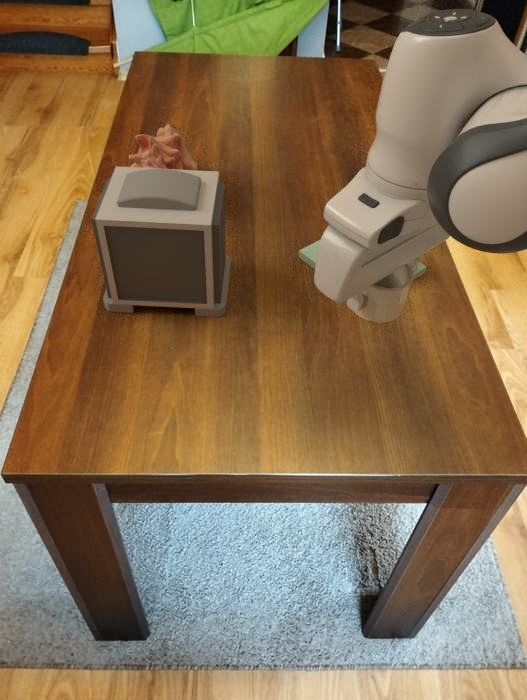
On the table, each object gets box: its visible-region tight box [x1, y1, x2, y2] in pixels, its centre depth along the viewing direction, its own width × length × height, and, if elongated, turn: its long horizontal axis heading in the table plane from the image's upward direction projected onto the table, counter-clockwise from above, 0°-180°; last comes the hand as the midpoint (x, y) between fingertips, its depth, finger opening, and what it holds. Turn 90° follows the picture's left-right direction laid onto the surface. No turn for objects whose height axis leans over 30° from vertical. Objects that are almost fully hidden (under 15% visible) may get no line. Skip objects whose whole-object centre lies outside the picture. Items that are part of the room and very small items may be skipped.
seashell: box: [128, 123, 199, 171], centre depth 103 cm, size 22×13×15 cm
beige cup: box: [354, 264, 414, 323], centre depth 67 cm, size 7×7×5 cm
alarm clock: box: [91, 165, 232, 318], centre depth 84 cm, size 18×13×18 cm
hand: (378, 293), depth 68 cm, fingers closed on beige cup, 6 cm apart
